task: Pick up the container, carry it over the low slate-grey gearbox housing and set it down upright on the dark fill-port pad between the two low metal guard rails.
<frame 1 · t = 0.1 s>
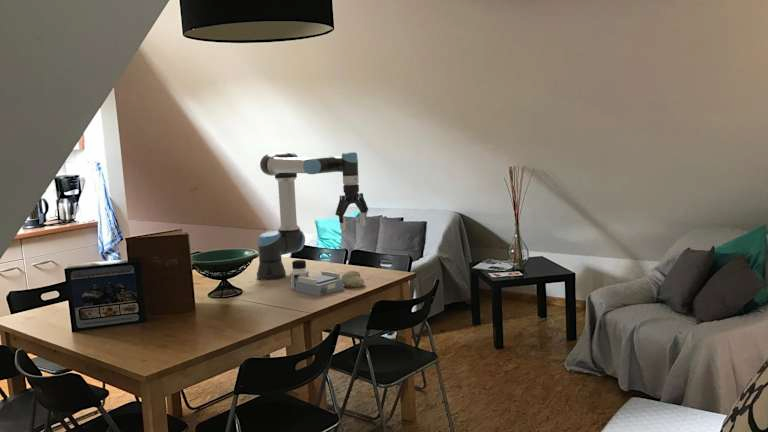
hand: (352, 227, 329), 28 cm above the table, fingers open, 13 cm apart
decorative item: (352, 286, 328), on the table
gearbox: (319, 290, 322), on the table
container: (300, 286, 331), on the table
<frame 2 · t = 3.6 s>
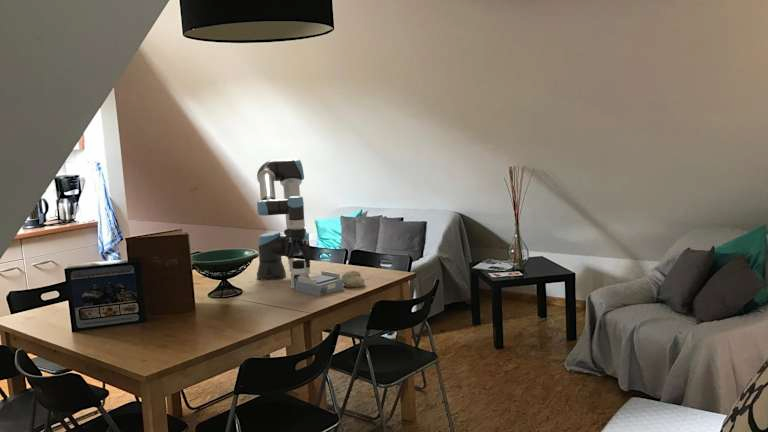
hand: (299, 272, 330), 7 cm above the table, fingers closed on container, 10 cm apart
container: (300, 286, 331), on the table, touching gripper
everything else where it was.
when the fingers open (15 cm above the table, at t = 8.5 s): container drops 2 cm, resting on gearbox.
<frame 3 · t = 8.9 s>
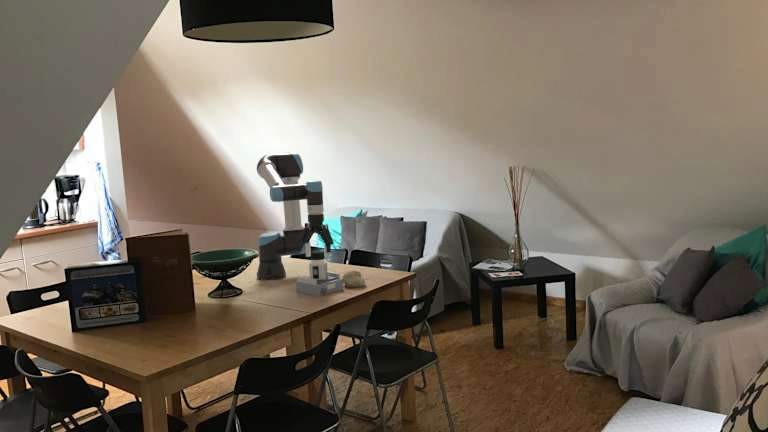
hand: (317, 257, 319), 16 cm above the table, fingers open, 13 cm apart
container: (318, 278, 321), point 6 cm above the table, touching gearbox
everything else where it was.
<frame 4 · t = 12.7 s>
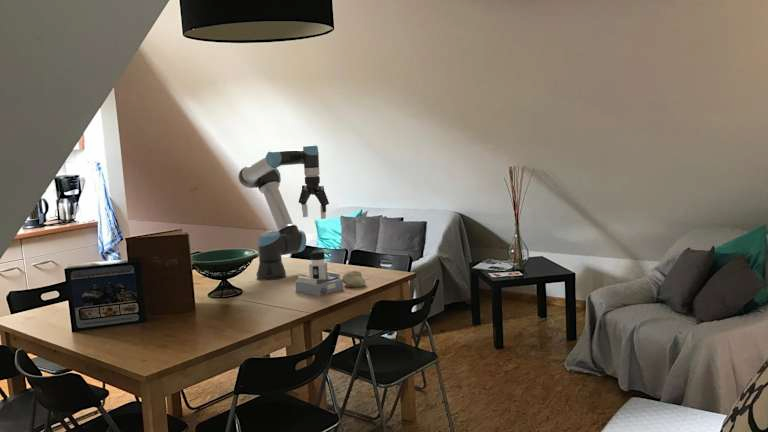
hand: (314, 217, 342), 32 cm above the table, fingers open, 13 cm apart
nothing on the table moved.
at the end: container inside the target area on the gearbox (0.1 cm from its centre), point 5.6 cm above the gearbox's base; container tilted 0°; the gripper is holding nothing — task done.
